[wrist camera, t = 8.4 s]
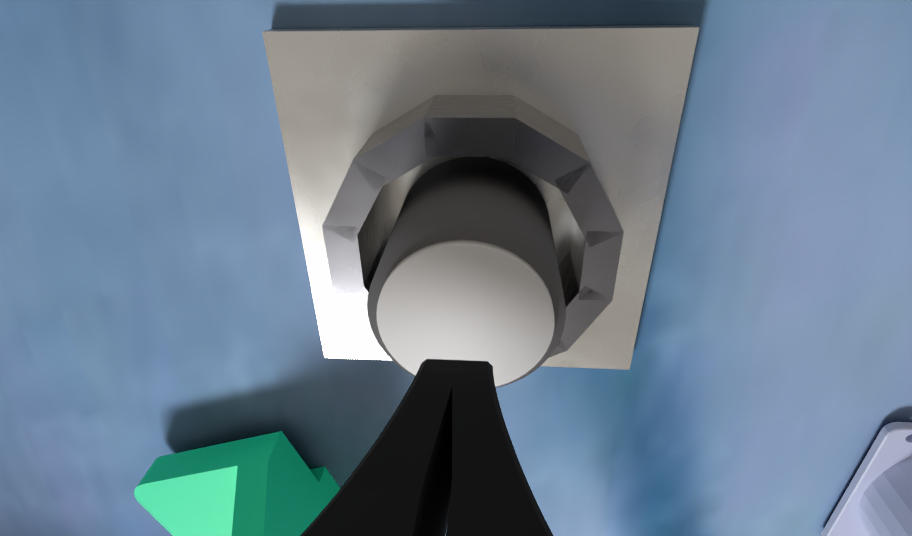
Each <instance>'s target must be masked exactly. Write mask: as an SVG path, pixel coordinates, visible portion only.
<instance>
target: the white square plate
mask: <svg viewBox="0 0 912 536" xmlns="http://www.w3.org/2000/svg"><path fill="white" fill-rule="evenodd" d="M698 32H699V27H697V26H694V25H637V26H535V27H434V28H332V29H269V30H266V31H263V38H264V43H265V48H266V53H267V59H268V64H269V69H270V74H271V80H272V85H273V90H274V95H275V101H276V106H277V111H278V116H279V122H280V127H281V132H282V137H283V143H284V148H285V153H286V158H287V163H288V169H289V174H290V179H291V184H292V190H293V195H294V200H295V205H296V211H297V216H298V221H299V226H300V232H301V237H302V242H303V247H304V253H305V258H306V263H307V268H308V273H309V279H310V284H311V289H312V294H313V300H314V305H315V310H316V315H317V321H318V326H319V331H320V336H321V342H322V347H323V352H324V357H325V358H345V359H371V360H392V359H391V358H390V357H389V356H388V355H387V354H386V353H385V352H384V350H383V349H382V348H381V347H380V345H379V343H378V342H377V340H376V338H375V336H374V334H373V332H372V329H371V327H370V323H369V318H368V311H367V301H368V293H369V289H370V285H371V282H372V280H373V277H374V275H375V272H376V270H377V267H378V265H379V262H380V260H381V257H382V255H383V253H384V250H385V248H386V245H387V243H388V240H389V238H390V235H391V233H392V230H393V228H394V225H395V223H396V220H397V218H398V215H399V213H400V210H401V208H402V205H403V203H404V201H405V198H406V196H407V194H408V192H409V191H410V189H411V187H412V186H413V185H414V183H415V182H416V181H417V180H418V179H419V178H420V177H421V176H422V175H423V174H424V173H426V172H427V171H428V170H430V169H431V168H433V167H435V166H437V165H439V164H441V163H443V162H446V161H449V160H451V159H456V158H461V157H471V156H474V157H486V158H492V159H496V160H499V161H502V162H505V163H507V164H509V165H511V166H513V167H515V168H516V169H518V170H520V171H521V172H522V173H524V174H525V175H526V176H527V177H528V178H529V179H530V180H531V181H532V182H533V183H534V184H535V185H536V187H537V188H538V189H539V191H540V192H541V194H542V196H543V198H544V200H545V202H546V206H547V209H548V213H549V218H550V224H551V229H552V234H553V240H554V245H555V251H556V256H557V262H558V267H559V273H560V278H561V283H562V289H563V294H564V300H565V306H566V320H565V326H564V330H563V333H562V336H561V339H560V341H559V343H558V345H557V347H556V349H555V350H554V351H553V353H552V354H551V356H550V357H549V358H548V359H547V360H546V361H545V362H544V363H543V364H542V365H541V366H552V367H578V368H603V369H630V365H631V360H632V355H633V350H634V345H635V340H636V335H637V330H638V325H639V321H640V316H641V311H642V306H643V301H644V296H645V291H646V286H647V281H648V277H649V272H650V267H651V262H652V257H653V252H654V247H655V242H656V237H657V233H658V228H659V223H660V218H661V213H662V208H663V203H664V198H665V193H666V188H667V184H668V179H669V174H670V169H671V164H672V159H673V154H674V149H675V144H676V140H677V135H678V130H679V125H680V120H681V115H682V110H683V105H684V100H685V96H686V91H687V86H688V81H689V76H690V71H691V66H692V61H693V56H694V52H695V47H696V42H697V37H698Z"/></svg>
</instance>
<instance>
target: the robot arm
mask: <svg viewBox="0 0 912 536" xmlns="http://www.w3.org/2000/svg"><path fill="white" fill-rule="evenodd" d="M446 528H447V531H446ZM445 534H446V536H553V534H552V532H551V530H550V528H549V527H548V525H547V523H546V521H545V519H544V517H543V515H542V512H541V510H540V508H539V506H538V504H537V502H536V500H535V498H534V496H533V493H532V491H531V489H530V487H529V484H528V482H527V480H526V477H525V475H524V473H523V470H522V468H521V466H520V463H519V461H518V458H517V456H516V453H515V450H514V447H513V445H512V442H511V439H510V436H509V434H508V431H507V428H506V425H505V422H504V419H503V416H502V412H501V408H500V405H499V401H498V397H497V393H496V388H495V383H494V376H493V366H492V365H491V364H490V363H489V362H488V361H469V360H444V359H426V360H425V361H423V362H422V363H421V365H420V368H419V370H418V372H417V374H416V376H415V378H414V380H413V382H412V384H411V385H410V387H409V389H408V391H407V393H406V394H405V396H404V398H403V399H402V401H401V403H400V405H399V406H398V408H397V410H396V411H395V413H394V414H393V416H392V417H391V419H390V420H389V422H388V424H387V425H386V427H385V428H384V430H383V431H382V433H381V434H380V436H379V437H378V439H377V440H376V442H375V443H374V445H373V446H372V447H371V449H370V450H369V451H368V453H367V454H366V456H365V457H364V458H363V460H362V461H361V462H360V464H359V465H358V466H357V468H356V469H355V470H354V472H353V473H352V475H351V476H350V477H349V479H348V480H347V481H346V482H345V484H344V485H343V486H342V487H341V489H340V490H339V491H338V492H337V494H336V495H335V496H334V497H333V498H332V500H331V501H330V502H329V503H328V505H327V506H326V507H325V508H324V509H323V510H322V511H321V513H320V514H319V515H318V516H317V517H316V518H315V520H314V521H313V522H312V523H311V524H310V525H309V526H308V528H307V529H306V530H305V531H304V532H303V533H302V534H301V535H300V536H445ZM821 536H912V422H892V423H889V424H887V425H885V426H884V427H883V428H882V429H881V431H880V433H879V434H878V436H877V438H876V439H875V441H874V443H873V445H872V446H871V448H870V450H869V452H868V453H867V455H866V457H865V459H864V460H863V462H862V464H861V465H860V467H859V469H858V471H857V472H856V474H855V476H854V478H853V479H852V481H851V483H850V484H849V486H848V488H847V490H846V491H845V493H844V495H843V497H842V498H841V500H840V502H839V503H838V505H837V507H836V509H835V510H834V512H833V514H832V516H831V517H830V519H829V521H828V522H827V524H826V526H825V528H824V529H823V531H822V533H821Z"/></svg>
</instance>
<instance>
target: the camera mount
mask: <svg viewBox="0 0 912 536" xmlns="http://www.w3.org/2000/svg"><path fill="white" fill-rule="evenodd" d="M340 489H341V488H340V487H339V486H338V484H337V483H336V481H335V480H334V478H333V477H332V476H331V474H330V473H329V471H328V470H327V469H326V467H319V468H314V469H309V468H308V466H307V465H306V464H305V462H304V461H303V460H302V458H301V457H300V455H299V454H298V453H297V451H296V450H295V449H294V447H293V446H292V444H291V443H290V442H289V440H288V439H287V438H286V436H285V435H284V434H283V432H282V431H280V432H275V433H270V434H265V435H260V436H256V437H251V438H246V439H241V440H237V441H232V442H227V443H222V444H217V445H213V446H208V447H203V448H198V449H194V450H189V451H184V452H179V453H175V454H170V455H165V456H161V457H158V458H157V459H156V460H155V461H154V463H153V464H152V466H151V467H150V468H149V470H148V471H147V473H146V474H145V476H144V477H143V479H142V480H141V481H140V483H139V484H138V486H137V487H136V489H135V491H134V495H135V497H136V499H137V501H138V502H139V503H140V504H141V505H142V506H143V507H144V508H145V509H146V510H147V511H148V512H149V513H150V514H151V515H152V516H153V517H154V518H155V519H156V520H157V521H159V522H160V523H161V524H162V525H163V526H164V527H165V528H166V529H167V530H168V531H169V532H170V533H171V534H172V535H173V536H300V535H301V534H302V533H303V532H304V531H305V530H306V529H307V528H308V526H309V525H310V524H311V523H312V522H313V521H314V520H315V518H316V517H317V516H318V515H319V514H320V513H321V511H322V510H323V509H324V508H325V507H326V506H327V505H328V503H329V502H330V501H331V500H332V498H333V497H334V496H335V495H336V494H337V492H338V491H339V490H340Z"/></svg>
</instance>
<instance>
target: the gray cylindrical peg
mask: <svg viewBox="0 0 912 536" xmlns="http://www.w3.org/2000/svg"><path fill="white" fill-rule="evenodd" d="M367 311H368V318H369V323H370V327H371V329H372V332H373V334H374V336H375V338H376V340H377V342H378V343H379V345H380V347H381V348H382V349H383V350H384V352H385V353H386V354H387V355H388V356H389V357H390V358H391V359H392V360H393V361H394V362H395V363H396V364H397V365H398V366H400V367H401V368H402V369H403V370H405V371H407V372H408V373H410V374H411V375H413V376H416V374H417V372H418V370H419V368H420V365H421V363H422V362H423V361H425V360H426V359H444V360H469V361H488V362H489V363H490V364H491V365H492V366H493V376H494V383H495V388H496V387H501V386H504V385H507V384H510V383H513V382H515V381H518V380H520V379H522V378H524V377H526V376H527V375H529V374H530V373H532V372H534V371H535V370H536V369H537V368H539V367H540V366H541V365H542V364H543V363H544V362H545V361H546V360H547V359H548V358H549V357H550V356H551V354H552V353H553V351H554V350H555V349H556V347H557V345H558V343H559V341H560V339H561V336H562V333H563V330H564V326H565V320H566V306H565V300H564V294H563V289H562V283H561V278H560V273H559V267H558V262H557V256H556V251H555V245H554V240H553V234H552V229H551V224H550V218H549V213H548V209H547V206H546V202H545V200H544V198H543V196H542V194H541V192H540V191H539V189H538V188H537V187H536V185H535V184H534V183H533V182H532V181H531V180H530V179H529V178H528V177H527V176H526V175H525V174H524V173H522V172H521V171H520V170H518V169H516V168H515V167H513V166H511V165H509V164H507V163H505V162H502V161H499V160H496V159H492V158H486V157H474V156H471V157H461V158H456V159H451V160H449V161H446V162H443V163H441V164H439V165H437V166H435V167H433V168H431V169H430V170H428V171H427V172H426V173H424V174H423V175H422V176H421V177H420V178H419V179H418V180H417V181H416V182H415V183H414V185H413V186H412V187H411V189H410V191H409V192H408V194H407V196H406V198H405V201H404V203H403V205H402V208H401V210H400V213H399V215H398V218H397V220H396V223H395V225H394V228H393V230H392V233H391V235H390V238H389V240H388V243H387V245H386V248H385V250H384V253H383V255H382V257H381V260H380V262H379V265H378V267H377V270H376V272H375V275H374V277H373V280H372V282H371V285H370V289H369V293H368V301H367Z"/></svg>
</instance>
